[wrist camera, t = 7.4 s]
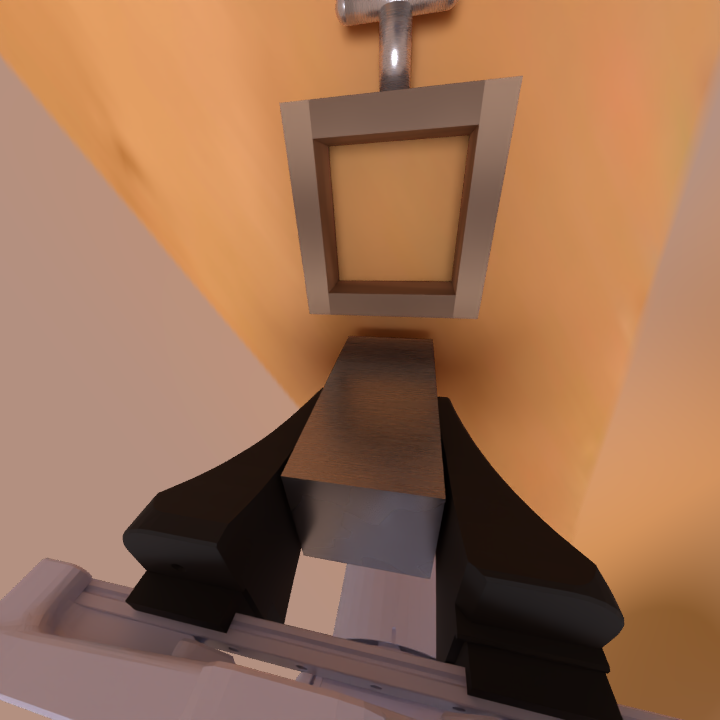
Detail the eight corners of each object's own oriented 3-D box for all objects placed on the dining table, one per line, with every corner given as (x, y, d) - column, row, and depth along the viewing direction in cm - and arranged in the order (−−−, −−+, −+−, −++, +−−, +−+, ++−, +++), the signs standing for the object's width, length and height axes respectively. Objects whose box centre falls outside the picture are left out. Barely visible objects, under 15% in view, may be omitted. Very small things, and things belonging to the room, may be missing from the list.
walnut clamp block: (470, 302, 13) (477, 318, 12) (322, 299, 15) (309, 314, 13) (524, -20, 8) (550, -73, 7) (290, 19, 10) (262, -17, 8)
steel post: (425, 405, 15) (430, 579, 8) (353, 399, 16) (303, 555, 9) (432, 339, 13) (445, 499, 6) (348, 335, 14) (280, 475, 7)
